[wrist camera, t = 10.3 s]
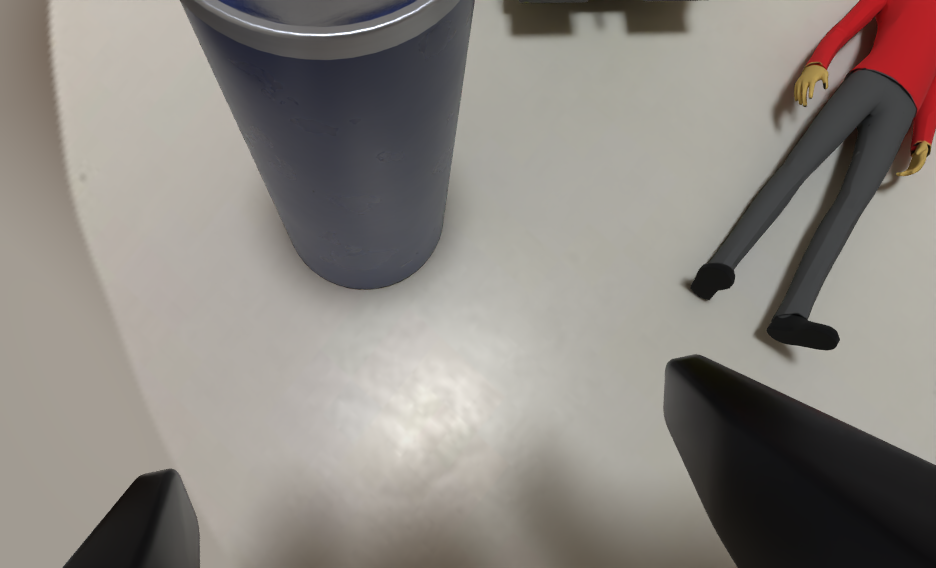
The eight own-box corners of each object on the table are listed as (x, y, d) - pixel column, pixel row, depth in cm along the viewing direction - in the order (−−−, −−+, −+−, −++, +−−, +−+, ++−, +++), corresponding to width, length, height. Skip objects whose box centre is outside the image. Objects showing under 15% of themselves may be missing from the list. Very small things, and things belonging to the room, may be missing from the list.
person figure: (735, 243, 20) (1009, -169, 25) (654, 256, 24) (905, -104, 29) (854, 359, 22) (1096, -56, 26) (759, 354, 25) (985, -7, 30)
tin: (417, 314, 24) (431, 86, 10) (259, 262, 24) (67, -32, 10) (466, 169, 25) (538, -199, 12) (317, 121, 25) (217, -302, 12)
